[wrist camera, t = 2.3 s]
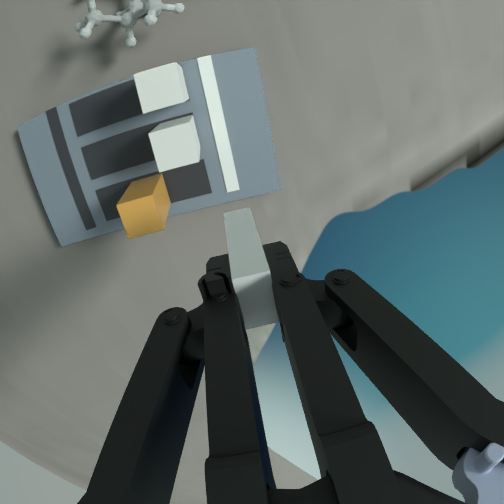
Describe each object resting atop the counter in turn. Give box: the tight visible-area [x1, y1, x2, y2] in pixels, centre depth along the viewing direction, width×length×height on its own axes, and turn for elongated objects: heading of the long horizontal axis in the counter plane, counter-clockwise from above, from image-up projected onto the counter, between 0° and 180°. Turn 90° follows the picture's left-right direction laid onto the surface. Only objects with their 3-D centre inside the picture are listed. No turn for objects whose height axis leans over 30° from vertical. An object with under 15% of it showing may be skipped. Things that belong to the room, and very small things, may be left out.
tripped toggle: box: [116, 173, 171, 239], centre depth 26 cm, size 3×3×6 cm
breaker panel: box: [17, 47, 281, 247], centre depth 25 cm, size 24×14×8 cm, turn 101°
